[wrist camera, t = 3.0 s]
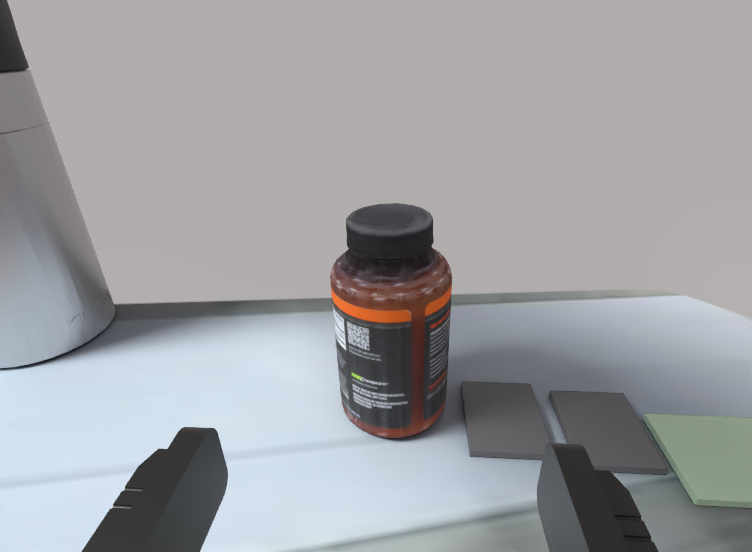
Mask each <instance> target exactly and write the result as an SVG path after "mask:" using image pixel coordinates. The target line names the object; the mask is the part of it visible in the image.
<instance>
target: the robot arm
mask: <svg viewBox="0 0 752 552" xmlns="http://www.w3.org/2000/svg"><path fill="white" fill-rule="evenodd" d="M27 68H29V66H28V63H27V60H26V58H25V55H24V52H23V50H22V47H21V44H20V41H19V38H18V35H17V31H16V28H15V25H14V21H13V18H12V15H11V11H10V9H9V5H8V2H7V0H0V368H9V367H17V366H23V365H28V364H33V363H36V362H40V361H43V360H47V359H50V358H53V357H55V356H58V355H61V354H63V353H66V352H68V351H70V350H72V349H74V348H76V347H78V346H81V345H82V344H84V343H86V342H87V341H89V340H91V339H92V338H94V337H95V336H97V335H98V334H99V333H100V332H102V331H103V330H104V329H105V328H106V327H107V326H108V325H109V324H110V323H111V321H112V320H113V318H114V316H115V306H114V304H113V301H112V298H111V295H110V292H109V290H108V287H107V284H106V281H105V278H104V276H103V273H102V270H101V267H100V264H99V261H98V258H97V255H96V252H95V250H94V247H93V244H92V241H91V238H90V236H89V233H88V230H87V227H86V225H85V222H84V219H83V216H82V213H81V211H80V208H79V205H78V202H77V199H76V197H75V194H74V191H73V189H72V185H71V183H70V180H69V177H68V174H67V171H66V169H65V166H64V163H63V160H62V158H61V155H60V152H59V149H58V146H57V143H56V141H55V138H54V135H53V132H52V129H51V127H50V124H49V122H48V119H47V116H46V113H45V110H44V108H43V105H42V102H41V99H40V96H39V94H38V91H37V88H36V85H35V82H34V80H33V77H32V74H31V71H30V70H26V69H27ZM227 479H228V471H227V466H226V462H225V459H224V455H223V451H222V448H221V444H220V440H219V436H218V433H217V431H216V429H214V428H196V427H184V428H182V429H181V430H180V431H179V432H178V433H177V435H176V436H175V438H174V440H173V441H172V443H171V444H170V446H169V448H168V449H158V450H157V451H155V452H154V453H153V454H152V455H151V456H150V457H149V458H147V459H146V460H145V461H144V462H143V463H142V464H141V465H139V466H138V468H137V469H136V471H135V472H134V474H133V475H132V477H131V478H130V480H129V481H128V483H127V484H126V486H125V490H124V491H122V492H121V493H120V495H119V496H118V498H117V499H116V501H115V502H114V504H113V508H112V509H110V510H109V511H108V513H107V514H106V516H105V517H104V519H103V520H102V522H101V523H100V525H99V526H98V528H97V529H96V531H95V532H94V534H93V535H92V537H91V538H90V540H89V541H88V543H87V544H86V546H85V547H84V549H83V550H82V552H200V550H201V548H202V545H203V543H204V541H205V538H206V536H207V534H208V531H209V529H210V527H211V524H212V522H213V520H214V518H215V515H216V513H217V511H218V508H219V506H220V504H221V501H222V499H223V496H224V494H225V491H226V486H227ZM537 501H538V509H539V514H540V518H541V521H542V525H543V529H544V533H545V536H546V540H547V544H548V547H549V551H550V552H658V550H657V548H656V546H655V544H654V542H652V541H651V536H650V534H649V532H648V530H647V527H646V525H645V523H644V521H642V520H641V515H640V513H639V511H638V509H637V507H636V505H635V503H634V501H633V499H632V497H631V495H630V492H629V491H628V490H627V489H626V488H625V487H624V486H623V485H622V484H621V482H620V481H619V480H618V479H617V478H616V477H615V476H614V475H613V474H612V473H611V472H610V471H609V470H594V467H593V465H592V463H591V460H590V458H589V456H588V453H587V451H586V449H585V448H584V446H583V445H581V444H560V443H548V444H547V445H546V447H545V452H544V456H543V461H542V466H541V471H540V476H539V481H538V486H537Z"/></svg>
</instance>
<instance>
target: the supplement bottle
mask: <svg viewBox="0 0 752 552" xmlns="http://www.w3.org/2000/svg"><path fill="white" fill-rule="evenodd" d="M346 229H347V246H348V248H349V249H348V250H347V251H346V252H345V253H344V254H342V255H341V256H340V257H339V258H338V259H337V260H336V262H335V263H334V266H333V268H332V271H331V276H330V277H331V290H332V304H333V314H334V325H335V336H336V347H337V359H338V369H339V380H340V391H341V397H342V405H343V408H344V411H345V413H346V415H347V417H348V418H349V420H350V421H351V422H352V423H353V424H355V425H356V426H357V427H358V428H360V429H361V430H363V431H365V432H367V433H370V434H372V435H376V436H380V437H385V438H401V437H407V436H411V435H414V434H417V433H420V432H422V431H424V430H426V429H427V428H429V427H430V426H431V425H432V424H434V423H435V422H436V420H437V419H438V418H439V416H440V415H441V413H442V411H443V408H444V405H445V400H446V388H447V369H448V350H449V328H450V309H451V287H452V276H451V270H450V267H449V264H448V263H447V261H446V259H445V258H444V257H443V256H442V255H441V254H440V253H439V252H437V251H436V250H435V249H433V248H432V244H433V218H432V216H431V214H430V213H429V212H427V211H426V210H424V209H422V208H420V207H417V206H413V205H406V204H396V203H393V204H378V205H372V206H367V207H363V208H360V209H358V210H356V211H354V212H352V213H351V214H350V215H349V216H348V218H347V219H346Z"/></svg>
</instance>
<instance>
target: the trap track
mask: <svg viewBox="0 0 752 552" xmlns="http://www.w3.org/2000/svg"><path fill="white" fill-rule="evenodd" d="M461 391H462V399H463V406H464V414H465V421H466V429H467V436H468V444H469V451H470V456H474V457H494V458H515V459H535V460H543V456H544V452H545V447H546V445H547V444H548V443H550V440H549V437H548V434H547V431H546V428H545V425H544V422H543V419H542V416H541V413H540V410H539V407H538V404H537V402H536V399H535V396H534V393H533V390H532V387H531V384H519V383H491V382H463V381H461ZM549 396H550V399H551V402H552V404H553V407H554V409H555V412H556V415H557V417H558V420H559V423H560V425H561V428H562V430H563V433H564V436H565V438H566V441H567V444H581V445H583V446H584V448H585V449H586V451H587V453H588V456H589V458H590V460H591V463H592V465H593V467H594V470H609V471H610V472H622V473H642V474H662V475H666V473H667V470H668V468H667V466H666V464H665V463H664V461H663V459H662V458H661V456H660V454H659V453H658V451H657V449H656V448H655V446H654V444H653V443H652V441H651V439H650V438H649V436H648V434H647V433H646V431H645V429H644V427H643V426H642V424H641V422H640V421H639V419H638V417H637V416H636V414H635V412H634V411H633V409H632V407H631V406H630V404H629V402H628V401H627V399H626V397H625V395H624V394H623V393H605V392H578V391H550V395H549ZM643 420H644V422H645V423H646V425H647V427H648V428H649V430H650V432H651V433H652V435H653V437H654V438H655V440H656V442H657V443H658V445H659V447H660V448H661V450H662V452H663V453H664V455H665V456H666V458H667V460H668V461H669V463H670V465H671V466H672V468H673V470H674V471H675V473H676V475H677V476H678V478H679V480H680V481H681V483H682V485H683V486H684V488H685V489H686V491H687V493H688V494H689V496H690V498H691V499H692V501H693V503H694V504H695V505H703V506H721V507H739V508H752V418H750V417H725V416H700V415H675V414H650V413H645V414H644V416H643Z"/></svg>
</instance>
